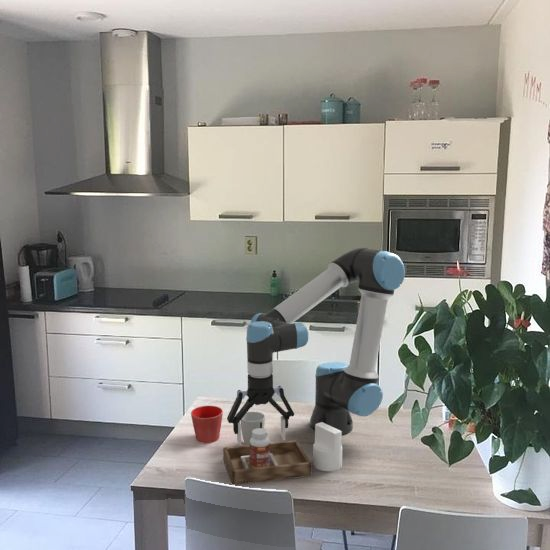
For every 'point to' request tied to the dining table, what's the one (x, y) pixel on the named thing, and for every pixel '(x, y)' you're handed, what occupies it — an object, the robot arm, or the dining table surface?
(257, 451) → the pill bottle
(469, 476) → the dining table surface
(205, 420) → the flower pot
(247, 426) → the cup
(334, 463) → the cylinder with rectangular tab
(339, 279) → the robot arm
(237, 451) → the box
